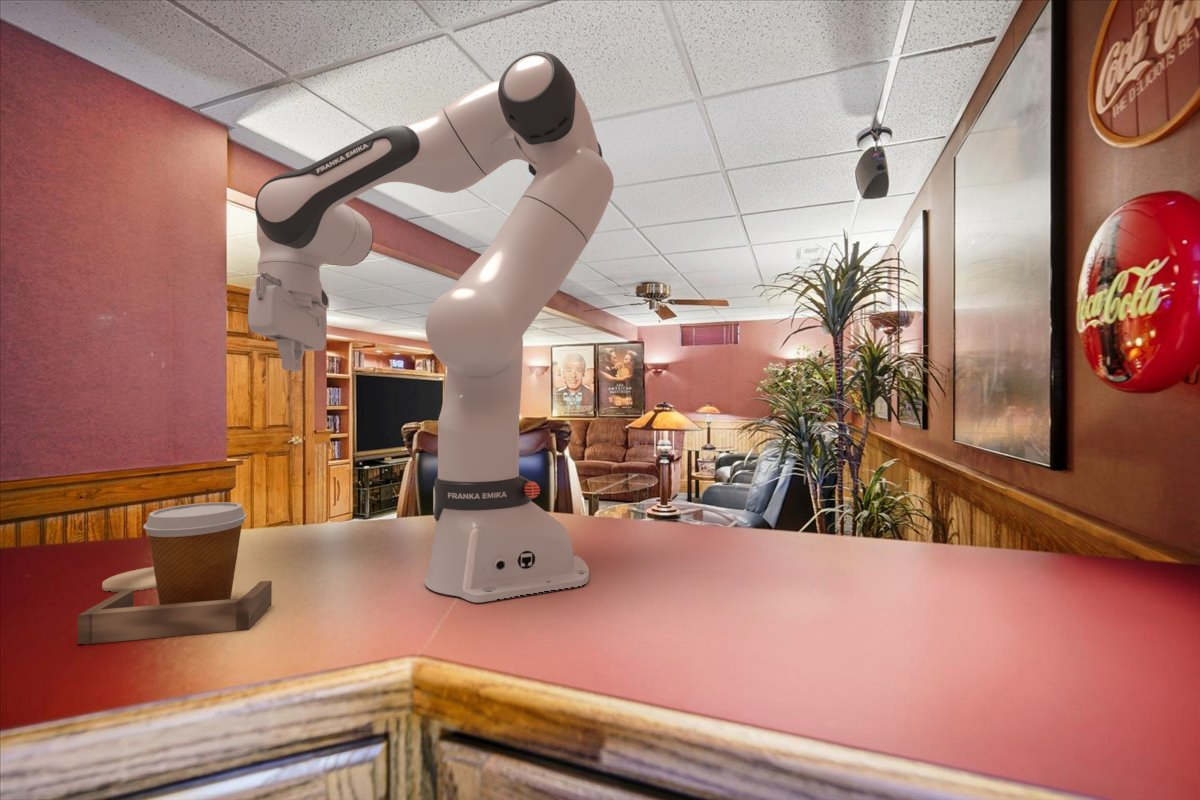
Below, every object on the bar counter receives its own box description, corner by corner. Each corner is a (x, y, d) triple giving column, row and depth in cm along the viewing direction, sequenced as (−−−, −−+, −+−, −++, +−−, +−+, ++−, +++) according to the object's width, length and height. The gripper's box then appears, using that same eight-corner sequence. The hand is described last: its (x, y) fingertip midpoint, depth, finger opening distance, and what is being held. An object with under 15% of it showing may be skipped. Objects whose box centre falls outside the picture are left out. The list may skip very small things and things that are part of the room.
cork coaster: (201, 567, 77) (201, 563, 77) (167, 588, 68) (167, 584, 68) (128, 572, 75) (128, 568, 75) (84, 594, 66) (84, 590, 66)
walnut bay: (271, 605, 63) (271, 580, 63) (248, 629, 56) (248, 601, 56) (120, 617, 59) (120, 591, 59) (77, 645, 53) (77, 615, 53)
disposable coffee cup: (192, 633, 55) (193, 520, 56) (119, 626, 57) (119, 516, 57) (265, 599, 65) (265, 503, 65) (199, 594, 67) (200, 500, 67)
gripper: (280, 267, 77) (283, 361, 76) (332, 301, 97) (334, 375, 96) (234, 268, 76) (235, 363, 75) (296, 302, 96) (298, 377, 95)
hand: (291, 370), depth 86 cm, fingers closed
